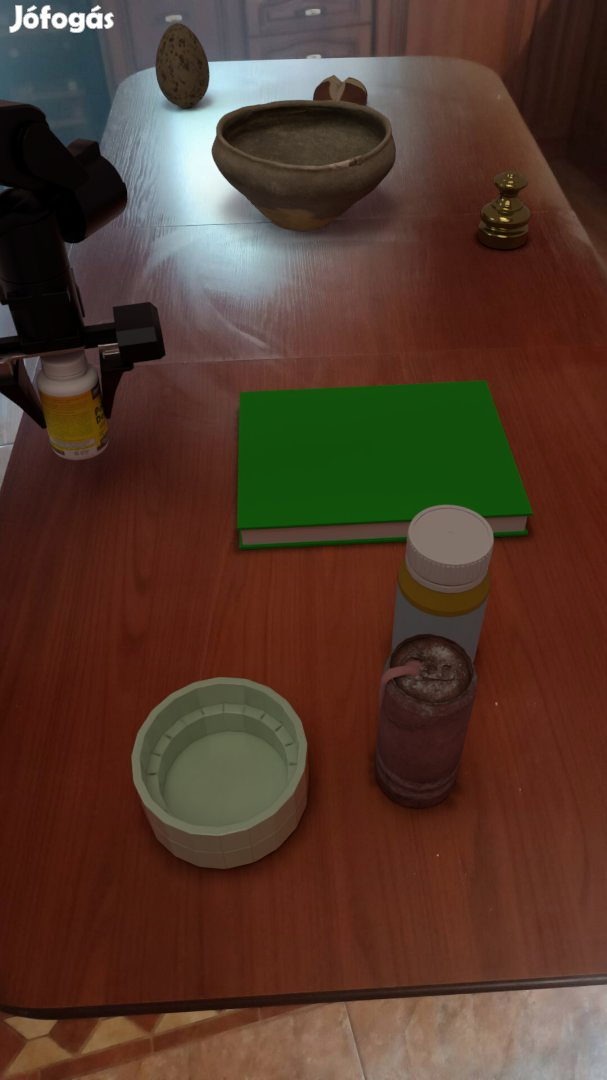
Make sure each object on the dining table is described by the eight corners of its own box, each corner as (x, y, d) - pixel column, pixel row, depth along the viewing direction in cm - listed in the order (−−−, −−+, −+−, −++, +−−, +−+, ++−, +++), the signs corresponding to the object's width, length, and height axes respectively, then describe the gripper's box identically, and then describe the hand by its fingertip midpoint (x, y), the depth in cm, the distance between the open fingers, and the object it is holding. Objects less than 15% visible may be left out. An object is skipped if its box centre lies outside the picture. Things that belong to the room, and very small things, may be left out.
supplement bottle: (111, 459, 77) (95, 366, 70) (52, 466, 76) (29, 373, 69) (108, 426, 81) (92, 335, 74) (52, 432, 80) (30, 340, 73)
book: (527, 535, 78) (533, 513, 76) (239, 549, 78) (237, 528, 76) (481, 399, 94) (485, 377, 92) (241, 410, 93) (239, 388, 91)
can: (358, 754, 62) (364, 645, 52) (432, 727, 64) (451, 617, 54) (392, 824, 58) (404, 721, 48) (469, 794, 60) (497, 689, 50)
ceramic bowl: (154, 890, 55) (139, 854, 51) (139, 737, 64) (125, 695, 59) (325, 849, 57) (325, 811, 53) (289, 706, 65) (286, 663, 61)
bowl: (184, 215, 130) (172, 123, 120) (310, 168, 143) (309, 81, 133) (298, 276, 115) (295, 176, 105) (428, 217, 128) (436, 123, 118)
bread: (307, 112, 163) (306, 85, 159) (324, 94, 170) (323, 68, 167) (360, 117, 160) (360, 90, 156) (374, 99, 168) (375, 72, 164)
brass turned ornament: (502, 255, 118) (513, 187, 111) (466, 237, 123) (475, 170, 115) (536, 241, 121) (549, 173, 114) (500, 224, 125) (511, 158, 118)
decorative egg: (184, 119, 162) (173, 34, 151) (150, 108, 167) (137, 24, 156) (223, 105, 167) (215, 22, 156) (189, 94, 172) (179, 13, 161)
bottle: (483, 639, 70) (511, 516, 59) (459, 702, 65) (484, 581, 54) (407, 614, 72) (420, 490, 61) (378, 673, 67) (388, 552, 57)
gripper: (140, 213, 72) (165, 361, 83) (-75, 238, 70) (-20, 388, 81) (151, 270, 65) (177, 425, 76) (-90, 301, 62) (-26, 456, 73)
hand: (76, 421), depth 77 cm, fingers closed on supplement bottle, 6 cm apart
